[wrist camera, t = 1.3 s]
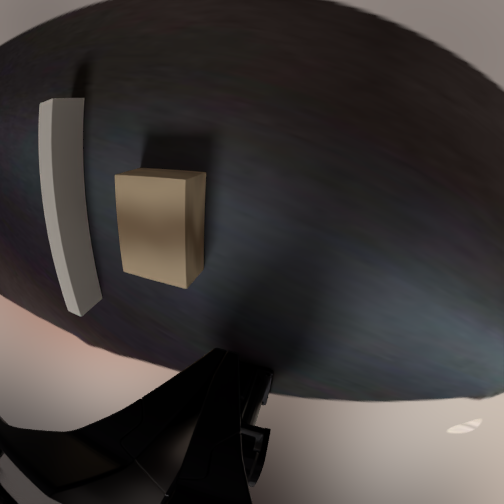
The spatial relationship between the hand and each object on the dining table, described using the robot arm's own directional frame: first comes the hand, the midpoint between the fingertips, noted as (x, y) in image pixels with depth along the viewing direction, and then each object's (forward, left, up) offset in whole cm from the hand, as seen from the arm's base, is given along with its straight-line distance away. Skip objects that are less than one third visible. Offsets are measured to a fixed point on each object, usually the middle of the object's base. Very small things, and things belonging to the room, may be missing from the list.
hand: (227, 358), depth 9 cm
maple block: (0, +9, -12) cm, 15 cm away
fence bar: (0, +20, -12) cm, 24 cm away
